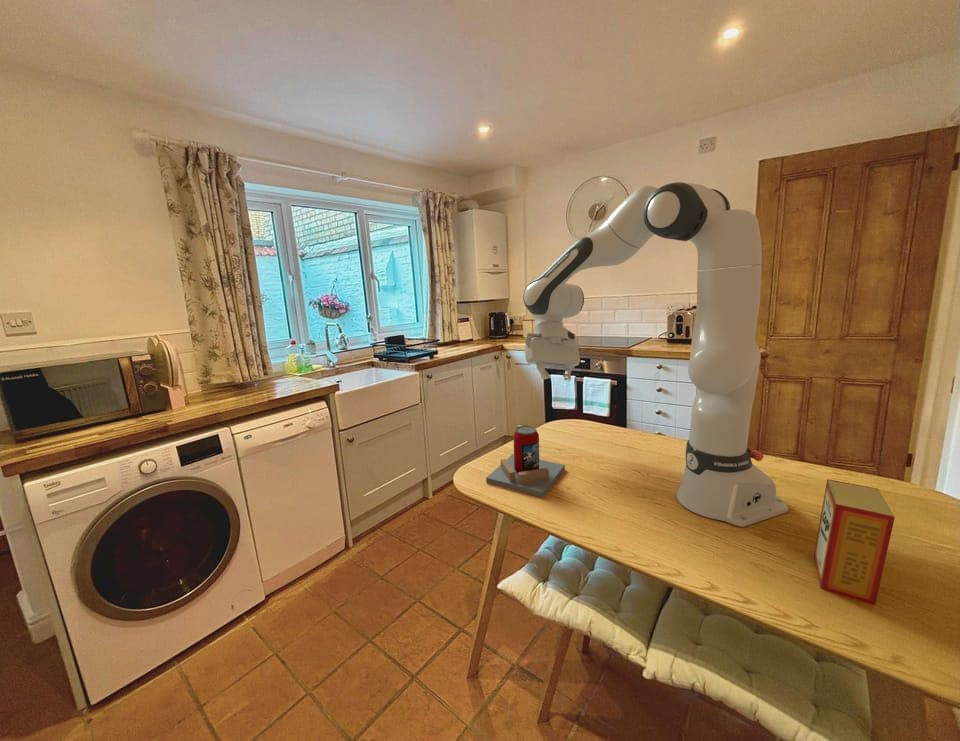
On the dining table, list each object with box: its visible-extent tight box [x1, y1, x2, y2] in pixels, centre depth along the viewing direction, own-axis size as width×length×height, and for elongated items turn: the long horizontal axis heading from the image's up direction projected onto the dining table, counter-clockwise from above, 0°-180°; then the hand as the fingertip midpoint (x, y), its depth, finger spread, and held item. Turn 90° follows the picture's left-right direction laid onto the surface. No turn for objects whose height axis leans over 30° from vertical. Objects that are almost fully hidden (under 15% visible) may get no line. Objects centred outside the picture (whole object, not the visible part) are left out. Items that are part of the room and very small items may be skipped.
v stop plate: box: [485, 453, 566, 499], centre depth 106 cm, size 16×16×4 cm
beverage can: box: [513, 425, 540, 472], centre depth 105 cm, size 7×7×12 cm
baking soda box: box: [813, 478, 895, 606], centre depth 66 cm, size 10×6×16 cm
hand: (556, 379), depth 118 cm, fingers open, 8 cm apart
